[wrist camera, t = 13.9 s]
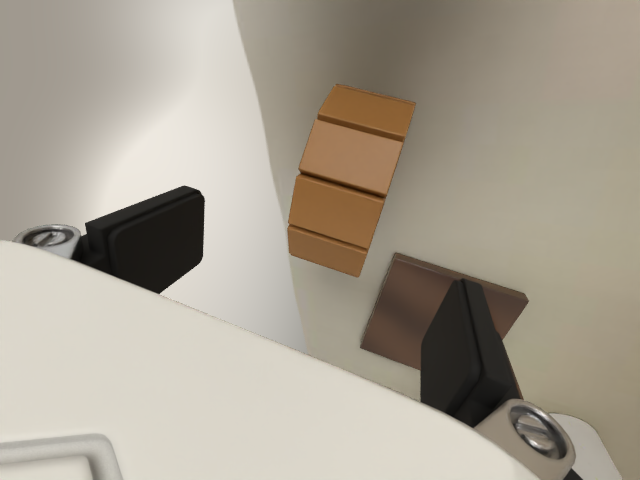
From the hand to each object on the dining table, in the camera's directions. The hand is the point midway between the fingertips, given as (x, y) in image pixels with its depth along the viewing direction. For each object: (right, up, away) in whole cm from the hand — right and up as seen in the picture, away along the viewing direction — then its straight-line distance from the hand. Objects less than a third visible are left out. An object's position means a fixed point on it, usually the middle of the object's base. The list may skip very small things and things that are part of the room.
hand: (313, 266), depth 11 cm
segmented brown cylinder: (+3, +5, +11) cm, 12 cm away
